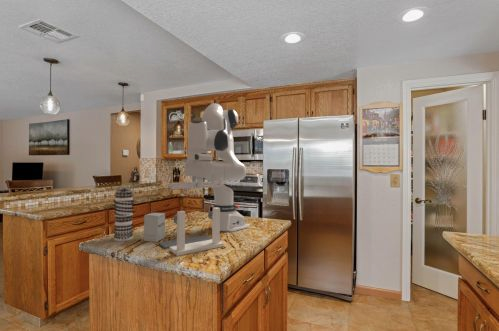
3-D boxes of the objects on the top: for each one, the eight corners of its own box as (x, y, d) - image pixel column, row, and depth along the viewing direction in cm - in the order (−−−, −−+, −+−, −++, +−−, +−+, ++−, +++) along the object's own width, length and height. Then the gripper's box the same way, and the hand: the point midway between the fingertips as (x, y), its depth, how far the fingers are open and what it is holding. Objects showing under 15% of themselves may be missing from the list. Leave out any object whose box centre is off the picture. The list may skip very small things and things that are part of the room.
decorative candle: (120, 242, 124) (121, 189, 124) (109, 239, 129) (109, 188, 129) (137, 237, 132) (138, 188, 132) (126, 235, 137) (126, 187, 137)
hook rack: (213, 241, 128) (214, 205, 128) (223, 246, 121) (223, 208, 121) (169, 250, 114) (170, 209, 114) (177, 255, 108) (178, 213, 108)
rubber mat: (204, 236, 137) (204, 234, 137) (212, 240, 131) (212, 238, 131) (158, 244, 122) (158, 242, 122) (164, 248, 116) (164, 247, 116)
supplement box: (157, 242, 126) (157, 215, 126) (143, 241, 127) (143, 214, 127) (165, 238, 133) (165, 213, 133) (151, 236, 134) (152, 212, 134)
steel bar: (218, 186, 127) (218, 181, 127) (220, 186, 125) (220, 181, 125) (170, 188, 112) (170, 183, 112) (171, 189, 111) (171, 183, 111)
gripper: (181, 156, 125) (180, 185, 125) (201, 155, 109) (201, 189, 109) (193, 156, 129) (193, 184, 129) (214, 156, 113) (214, 188, 113)
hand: (196, 187), depth 119 cm, fingers closed on steel bar, 2 cm apart
